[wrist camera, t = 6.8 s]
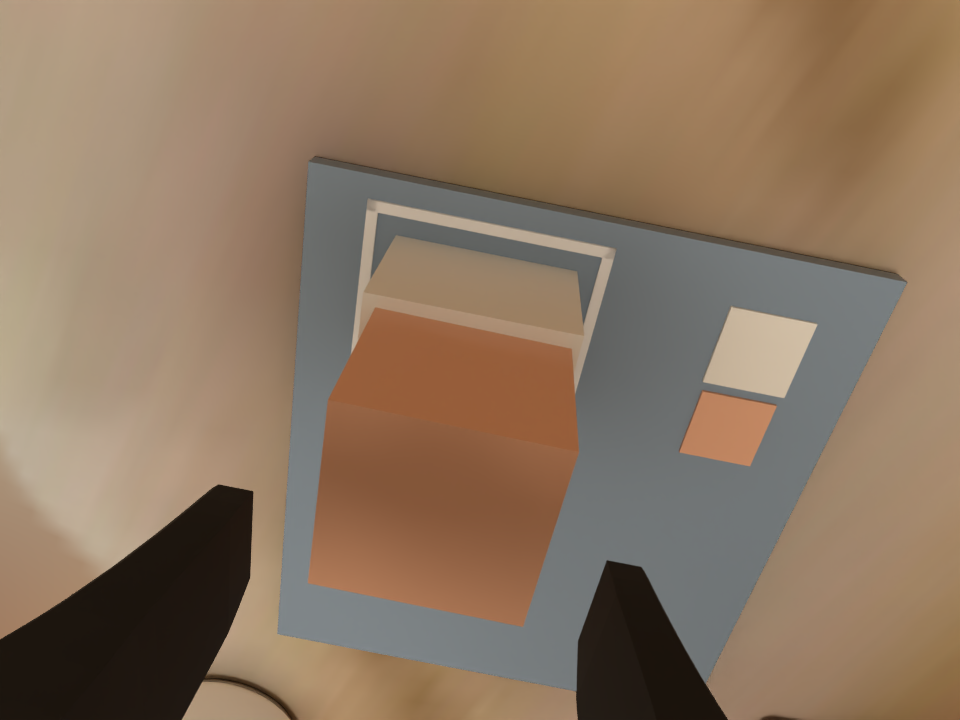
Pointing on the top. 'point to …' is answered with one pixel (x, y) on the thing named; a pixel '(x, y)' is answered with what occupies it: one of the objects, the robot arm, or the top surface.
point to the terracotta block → (444, 467)
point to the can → (232, 703)
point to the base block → (477, 292)
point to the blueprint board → (598, 411)
